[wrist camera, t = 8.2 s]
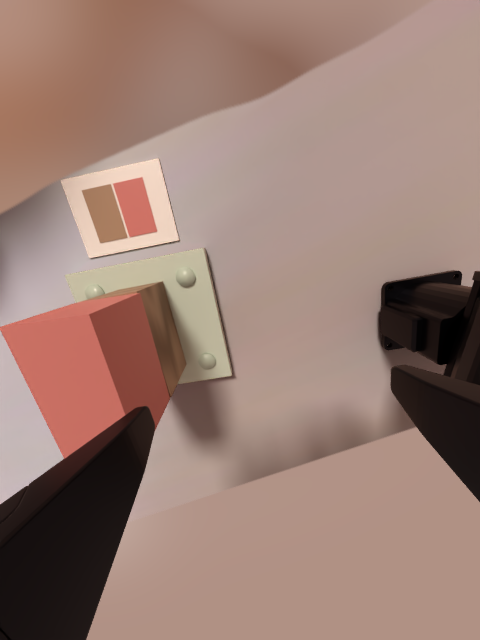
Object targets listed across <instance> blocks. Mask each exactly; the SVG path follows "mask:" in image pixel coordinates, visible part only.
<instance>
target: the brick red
mask: <svg viewBox="0 0 480 640" xmlns="http://www.w3.org/2000/svg"><path fill="white" fill-rule="evenodd" d="M0 330H1V332H2V334H3V336H4V338H5V340H6V342H7V344H8V346H9V348H10V350H11V352H12V354H13V356H14V358H15V360H16V362H17V364H18V366H19V368H20V370H21V372H22V374H23V376H24V378H25V380H26V382H27V384H28V387H29V389H30V391H31V393H32V395H33V397H34V399H35V401H36V403H37V405H38V407H39V409H40V411H41V413H42V415H43V417H44V419H45V421H46V423H47V425H48V427H49V429H50V431H51V433H52V435H53V437H54V439H55V441H56V443H57V445H58V447H59V449H60V451H61V453H62V455H63V457H64V459H65V458H66V457H68V456H69V455H70V454H72V453H73V452H75V451H76V450H77V449H79V448H80V447H82V446H83V445H84V444H86V443H87V442H88V441H90V440H91V439H93V438H94V437H95V436H97V435H98V434H100V433H101V432H102V431H104V430H105V429H107V428H108V427H109V426H111V425H112V424H114V423H115V422H116V421H118V420H119V419H121V418H122V417H123V416H125V415H126V414H128V413H129V412H130V411H132V410H133V409H135V408H136V407H141V406H148V407H149V409H150V411H151V414H152V417H153V419H154V422H155V429H156V427H157V425H158V423H159V421H160V419H161V417H162V415H163V413H164V410H165V408H166V406H167V404H168V402H169V400H170V397H169V393H168V390H167V386H166V383H165V379H164V375H163V372H162V368H161V365H160V361H159V358H158V354H157V351H156V347H155V344H154V340H153V336H152V333H151V329H150V326H149V322H148V319H147V315H146V312H145V308H144V305H143V301H142V298H141V294H140V293H136V294H129V295H122V296H115V297H108V298H102V299H95V300H88V301H81V302H77V303H74V304H71V305H68V306H65V307H62V308H58V309H55V310H52V311H49V312H46V313H43V314H40V315H36V316H33V317H30V318H27V319H24V320H21V321H18V322H14V323H11V324H8V325H5V326H2V327H0Z"/></svg>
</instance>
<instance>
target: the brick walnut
mask: <svg viewBox="0 0 480 640" xmlns="http://www.w3.org/2000/svg"><path fill="white" fill-rule="evenodd" d="M136 293H140V294H141V298H142V301H143V305H144V308H145V312H146V315H147V319H148V322H149V326H150V329H151V333H152V336H153V340H154V344H155V347H156V351H157V354H158V358H159V361H160V365H161V368H162V372H163V375H164V379H165V383H166V386H167V390H168V393H169V397H171V396H172V394H173V392H174V390H175V388H176V386H177V384H178V381H179V379H180V377H181V375H182V373H183V371H184V369H185V367H186V365H187V364H186V360H185V357H184V353H183V350H182V346H181V343H180V339H179V336H178V332H177V329H176V325H175V322H174V318H173V315H172V311H171V308H170V304H169V301H168V297H167V294H166V291H165V287H164V284H163V281H161V282H156V283H151V284H146V285H140V286H135V287H130V288H125V289H119V290H116V291H113V292H109V293H106V294H103V295H100V296H97V297H94V298H91V299H87V300H84V301H88V300H95V299H102V298H108V297H115V296H122V295H129V294H136Z"/></svg>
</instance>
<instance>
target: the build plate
mask: <svg viewBox="0 0 480 640" xmlns="http://www.w3.org/2000/svg"><path fill="white" fill-rule="evenodd" d="M65 277H66V280H67V282H68V285H69V287H70V289H71V292H72V294H73V297H74V299H75V302H76V303H77V302H81V301H84V300H87V299H91V298H94V297H97V296H100V295H103V294H106V293H109V292H113V291H116V290H119V289H125V288H130V287H135V286H140V285H146V284H151V283H156V282H161V281H163V284H164V287H165V291H166V294H167V297H168V301H169V304H170V308H171V311H172V315H173V318H174V322H175V325H176V329H177V332H178V336H179V339H180V343H181V346H182V350H183V353H184V357H185V360H186V364H187V365H186V367H185V369H184V371H183V373H182V375H181V377H180V379H179V381H178V384H184V383H190V382H196V381H202V380H208V379H214V378H220V377H227V376H232V367H231V363H230V358H229V354H228V349H227V345H226V340H225V335H224V331H223V326H222V322H221V317H220V313H219V308H218V304H217V299H216V295H215V290H214V286H213V281H212V277H211V272H210V268H209V263H208V259H207V254H206V250H205V248H200V249H195V250H190V251H185V252H180V253H174V254H169V255H164V256H159V257H154V258H149V259H144V260H139V261H134V262H129V263H124V264H119V265H114V266H109V267H103V268H98V269H93V270H88V271H83V272H78V273H73V274H68V275H65Z"/></svg>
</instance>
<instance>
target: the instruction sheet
mask: <svg viewBox="0 0 480 640" xmlns="http://www.w3.org/2000/svg"><path fill="white" fill-rule="evenodd" d="M60 181H61V184H62V186H63V189H64V192H65V194H66V197H67V200H68V202H69V205H70V208H71V210H72V213H73V216H74V218H75V221H76V224H77V226H78V229H79V232H80V234H81V237H82V240H83V242H84V245H85V248H86V250H87V253H88V256H89V258H94V257H99V256H104V255H109V254H114V253H119V252H124V251H128V250H133V249H138V248H143V247H148V246H153V245H158V244H163V243H168V242H173V241H178V240H179V237H178V233H177V229H176V225H175V221H174V217H173V213H172V209H171V205H170V201H169V197H168V193H167V189H166V185H165V181H164V177H163V173H162V169H161V165H160V161H159V158H157V159H153V160H148V161H144V162H139V163H135V164H130V165H126V166H121V167H117V168H112V169H108V170H103V171H99V172H95V173H90V174H86V175H81V176H77V177H72V178H68V179H63V180H60Z"/></svg>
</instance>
